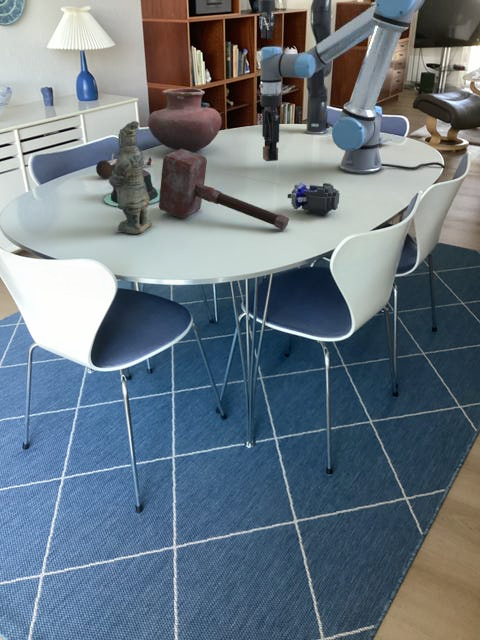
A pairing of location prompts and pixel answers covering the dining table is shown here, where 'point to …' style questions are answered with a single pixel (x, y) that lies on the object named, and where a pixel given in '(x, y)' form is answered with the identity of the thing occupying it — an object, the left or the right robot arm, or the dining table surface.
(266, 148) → the block
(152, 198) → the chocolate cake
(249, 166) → the dining table surface
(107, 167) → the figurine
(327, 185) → the toy
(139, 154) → the statue
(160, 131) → the clay pot
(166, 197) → the sledgehammer
